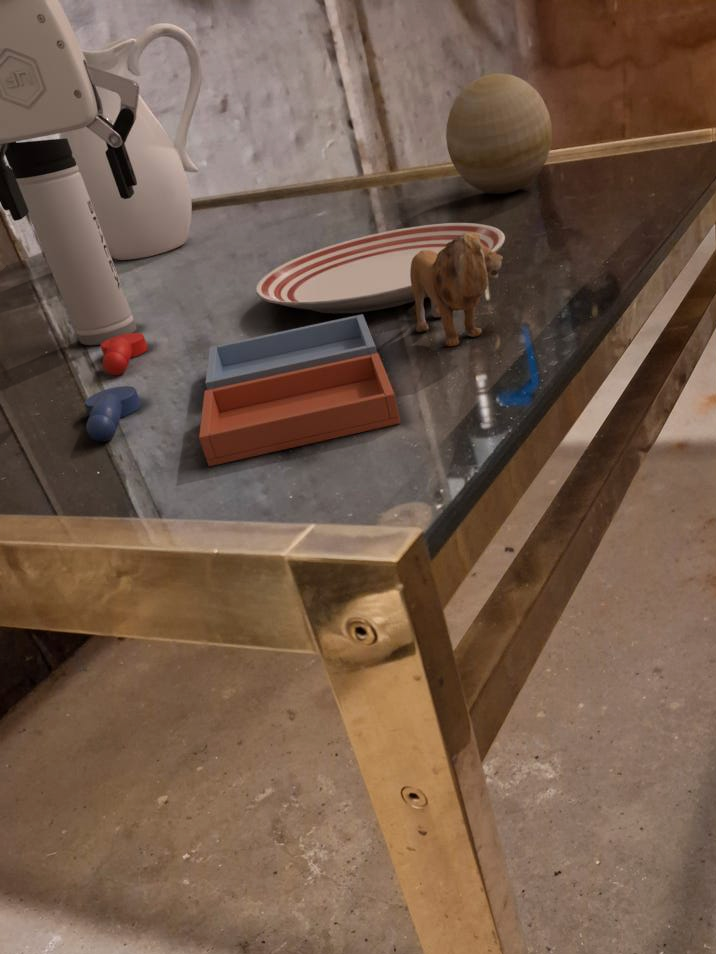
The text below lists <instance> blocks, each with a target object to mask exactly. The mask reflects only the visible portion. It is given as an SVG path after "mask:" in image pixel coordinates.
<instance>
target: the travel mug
mask: <svg viewBox="0 0 716 954" xmlns="http://www.w3.org/2000/svg"><path fill="white" fill-rule="evenodd" d="M72 154H73V153H72V150H71V148H70V145H69V142H68V139H67V138H64V139H60V138H53V139H42V140H41V139H40V140H32V141H31V140H30V141H16V142H10V143H8V146H7V149H6V152H5V156H4V157H5V159H6V161H7V164H8V166H9V168H11V169H12V171H13V173H14V175H15V178H16V180H17V183H18V185H19V188H20V190H21V193H22V195H23V198H24V200H25V203H26V205H27V208H28V210H29V213H28V214H27V216H28V217H29V219H30V222H31V225H32V227H33V229H34V232H35V234H36V237H37V240H38V242H39V244H40V247H41V249H42V251H43V252H42V253H43V254H44V257H45V259H46V261H47V264H48V267H49V269H50V272H51V274H52V276H53V279H54V281H55V283H56V286H57V288H58V292H59V294H60V296H61V298H62V301H63V304H64V306H65V309H66V311H67V313H68V316H69V318H70V320H71V324H72V325H73V328H75V333H76V336H77V338H78V341H79V343H81V344H82V345H85V346H90V347H91V346H101V344H102V343H103V342H105V341H106V340H108V339H111V338H113V337H116V336H120V335H124V334H130V333H136V330H137V327H138V326H137V324H136V321H135V318H134V316H133V315H132V311H131V308H130V305H129V302H128V300H127V297H126V294H125V291H124V288H123V285H122V283H121V280H120V277H119V274H118V272H117V269H116V267H115V264H114V261H113V257H112V256H111V255H110V253H109V250H108V247H107V244H106V242H105V239H104V236H103V233H102V231H101V228H100V225H99V222H98V220H97V217H96V214H95V212H94V209H93V206H92V203H91V201H90V198H89V195H88V192H87V190H86V187H85V184H84V181H83V179H82V176H81V174H80V173H79V172H78V170H79V168H78V165H77V164H76V161H75V159H74V158H73V156H72Z"/></svg>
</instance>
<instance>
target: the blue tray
mask: <svg viewBox="0 0 716 954" xmlns="http://www.w3.org/2000/svg"><path fill="white" fill-rule="evenodd" d="M208 348H209V349H208V357H207V366H206V375H205V382H204V383H205V387H206V390H210V389H215V388H219V387H224V386H228V385H233V384H238V383H242V382H247V381H251V380H256V379H260V378H265V377H270V376H274V375H279V374H283V373H288V372H292V371H297V370H302V369H306V368H311V367H315V366H320V365H325V364H329V363H334V362H338V361H343V360H347V359H352V358H357V357H361V356H366V355H371V354H375V353H378V352H377V351H378V350H377V346H376V344H375V342H374V339H373V336H372V334H371V331H370V329H369V327H368V324H367V321H366V319H365V315H364V314H358V315H357V314H356V315H353V316H348V317H343V318H338V319H334V320H329V321H325V322H319V323H315V324H310V325H305V326H301V327H297V328H292V329H288V330H287V329H286V330H282V331H278V332H272V333H268V334H264V335H259V336H254V337H250V338H244V339H240V340H236V341H232V342H226V343H222V344H217V345H213V346H210V347H208Z"/></svg>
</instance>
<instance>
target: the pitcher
mask: <svg viewBox="0 0 716 954" xmlns="http://www.w3.org/2000/svg"><path fill="white" fill-rule="evenodd" d="M161 37H162V38H163V37H164V38H169V39H170V38H171V39H173V40H175V41H177V42H178V43H179V44H180V45H181V46H182V47H183V49H184V51H185V53H186V56H187V58H188V63H189V69H190V71H189V85H188V90H187V95H186V97H185V101H184V104H183V105H184V106H183V109H182V112H181V116H180V119H179V121H178V126H177V130H176V133H175V137H174V141H173V142H172V140H171V138H170V137H169V135H168V134H167V132H166V130H165V129H164V128H163V126H162V125H161V123H160V121H159V120H158V119H157V118H156V116H155V115H154V113H153V112H152V110H151V108H149V106H148V105H147V104H146V102H145V101H144V99H143V97H142V96H141V95H140V94H139V97H138V105H137V112H136V120H135V122H134V124H133V126H132V128H131V131H130V133H129V135H128V137H127V140H126V142H125V143H124V144H125V147H126V150H127V153H128V156H129V159H130V162H131V165H132V168H133V171H134V174H135V177H136V180H137V185H135V186H132V187H133V190H134V194H133V196H132V197H131V198H129V199H124V198H121V196H120V194H119V191H118V188H117V185H116V182H115V179H114V177H113V174H112V171H111V168H110V165H109V162H108V159H107V156H106V153H105V152H106V151H107V149H108V147H107V145H106V142H105V141H104V140H103V139H101V138H100V137H99V136H98V135H96V134H95V133H94V132H92V131H91V130H90V129H89V128H87V127H84V128H81V129H77V130H73V131H68V132H63V133H59V134H60V138H59V139H64V138H67V139H68V142H69V145H70V148H71V150H72V153H73V154H72V156H73V158H74V159H75V161H76V164H77V165H78V168H79V170H78V172H79V173H80V174H81V176H82V179H83V181H84V184H85V187H86V190H87V192H88V195H89V198H90V201H91V203H92V206H93V209H94V212H95V214H96V217H97V220H98V222H99V225H100V228H101V231H102V233H103V236H104V239H105V242H106V244H107V247H108V250H109V253H110V255H111V258H112V259H115V260H118V261H129V260H138V259H143V258H148V257H154V256H157V255H160V254H163V253H168V252H170V251H172V250H175V249H178V248H179V247H181V246H183V245H184V244H185V243H186V242H187V240H188V237H189V233H190V228H191V222H192V209H193V207H192V194H191V188H190V185H189V181H188V180H189V179H188V177H187V174H186V172H187V173H198V172H199V169H198V167H197V166H196V165H195V164H194V163H193V161H192V160H191V159H190V157H189V156H190V155H189V154H188V151H187V137H188V132H189V128H190V124H191V121H192V118H193V115H194V111H195V110H196V109H195V108H196V105H197V102H198V98H199V95H200V91H201V87H202V81H203V61H202V57H201V54H200V50H199V48H198V46H197V44H196V42H195V41H194V40H193V38H192V37H191V36H190V34H189V33H188V32H186V31H185V30H184V29H183V28H181V27H180V26H177V25H175V24H172V23H167V22H161V23H155V24H153V25H150V26H148V27H147V28H146V29H144V30H143V31H142V32H141V33H139V35H138V36H137V37H136V38H133V37H131V38H122V39H121V38H120V39H118V40H115V41H112V42H109V43H108V44H106V45H104V46H102V47H100V48H98V49H96V50H94V51H93V50H84V49H81V50H82V52H83V54H84V57H85V59H86V62H87V64H88V65H90V66H92V67H95V68H98V69H101V70H104V71H107V72H110V73H113V74H116V75H118V76H121V77H124V78H127V79H130V80H132V78H131V76H130V73H131V74H132V75H133V76H135V77H140V76H141V68H140V64H139V63H140V57H141V55H142V54H143V52H144V50H145V49H146V48H147V47H148V46H149V44H151V43H152V42H153V41H154V40H157V39H159V38H161ZM129 72H130V73H129ZM96 87H97V90H98V93H99V96H100V99H101V102H102V107H103V115H104V116H105V117H107V118H108V119H109V120H110V121H112V122H113V123H115V121H116V118H117V116H118V114H119V112H120V106H121V98H120V96H119V95H118V94H117V93H116V92H113V91H110V90H107V89H104V88H101V87H98V86H96ZM173 143H174V144H173Z"/></svg>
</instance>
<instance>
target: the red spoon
mask: <svg viewBox="0 0 716 954" xmlns="http://www.w3.org/2000/svg"><path fill="white" fill-rule="evenodd" d="M148 347H149V346H148V344H147V341H146V339H145V335H144V334H143V333H140V332H134V333H130V334H124V335H120V336H116V337H113V338H111V339H108V340H106V341H105V342H103V343H102V344H101V345H100V349H101V352H102V355H103V359H102V366H103V368H104V370H105V371H106V373H108V374H110V375H112V376H121V375H123V374H124V373H125V372H126V371H127V368H128V366H129V364H130V363H129V362H130V360H131V359H132V358H135V357H138V356H140V355H142V354H144V353H145V352H147V351H148Z"/></svg>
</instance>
